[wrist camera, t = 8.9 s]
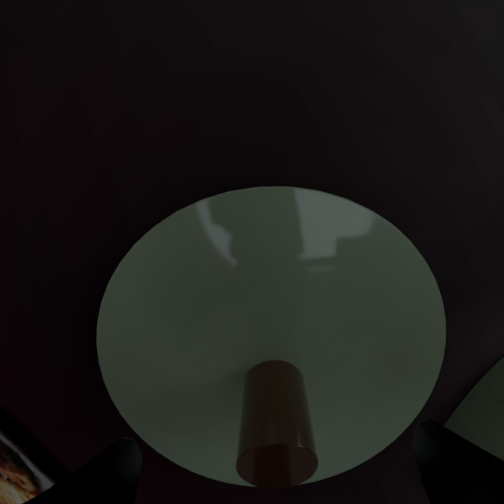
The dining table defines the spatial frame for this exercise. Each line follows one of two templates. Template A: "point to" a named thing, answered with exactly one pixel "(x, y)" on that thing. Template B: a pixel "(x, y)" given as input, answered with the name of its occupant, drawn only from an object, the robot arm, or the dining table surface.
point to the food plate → (19, 474)
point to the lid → (271, 336)
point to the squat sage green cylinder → (483, 413)
